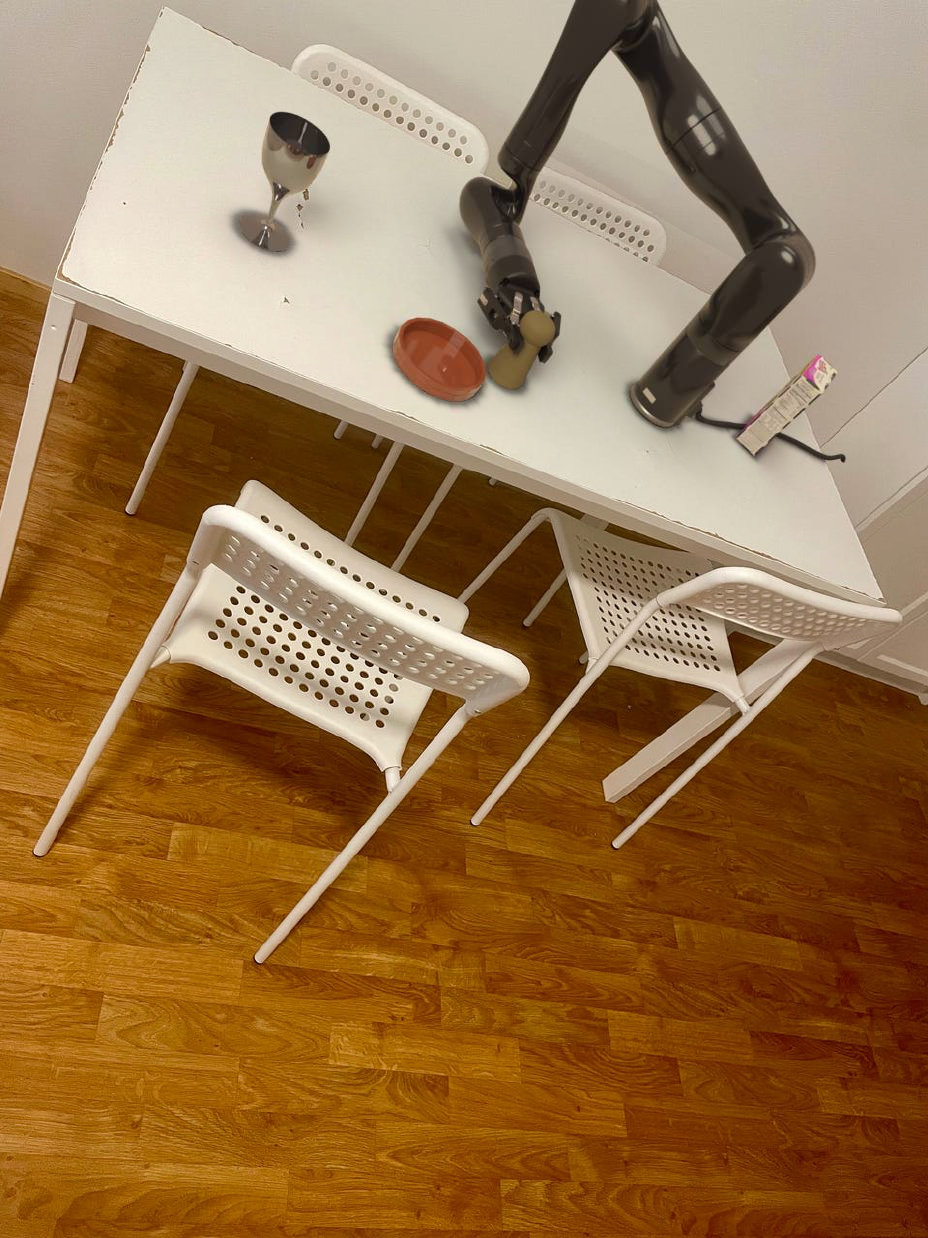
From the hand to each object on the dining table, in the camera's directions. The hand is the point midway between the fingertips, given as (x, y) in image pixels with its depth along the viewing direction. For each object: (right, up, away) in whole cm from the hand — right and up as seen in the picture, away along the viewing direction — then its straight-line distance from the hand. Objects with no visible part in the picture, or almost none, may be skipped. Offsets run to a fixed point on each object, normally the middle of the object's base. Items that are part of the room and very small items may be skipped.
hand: (532, 354), depth 121 cm
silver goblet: (-37, +15, -4) cm, 41 cm away
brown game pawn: (-4, -1, +7) cm, 8 cm away
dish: (-14, -2, 0) cm, 14 cm away
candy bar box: (+43, -5, +34) cm, 55 cm away
